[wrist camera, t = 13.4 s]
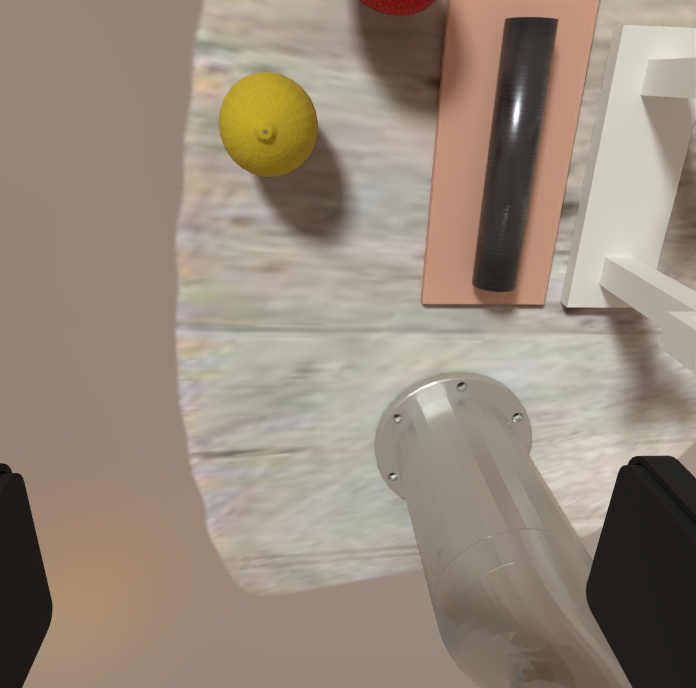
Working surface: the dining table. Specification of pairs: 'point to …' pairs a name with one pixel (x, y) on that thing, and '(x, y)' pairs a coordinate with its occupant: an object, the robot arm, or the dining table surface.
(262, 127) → the lemon
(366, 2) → the strawberry
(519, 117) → the cylinder
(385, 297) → the dining table surface
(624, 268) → the stand
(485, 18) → the mat
